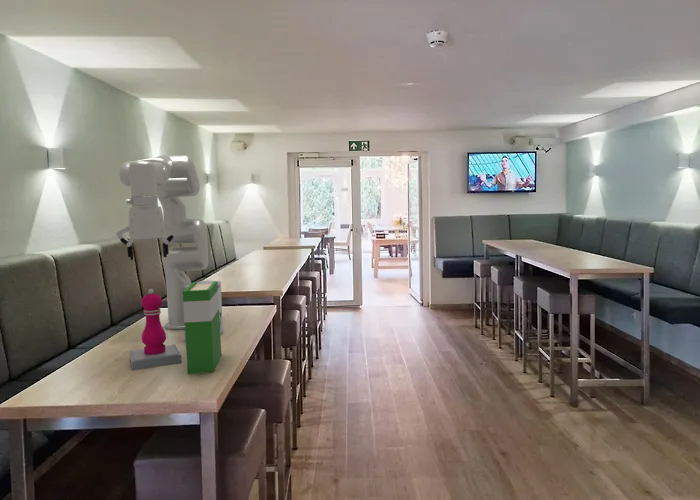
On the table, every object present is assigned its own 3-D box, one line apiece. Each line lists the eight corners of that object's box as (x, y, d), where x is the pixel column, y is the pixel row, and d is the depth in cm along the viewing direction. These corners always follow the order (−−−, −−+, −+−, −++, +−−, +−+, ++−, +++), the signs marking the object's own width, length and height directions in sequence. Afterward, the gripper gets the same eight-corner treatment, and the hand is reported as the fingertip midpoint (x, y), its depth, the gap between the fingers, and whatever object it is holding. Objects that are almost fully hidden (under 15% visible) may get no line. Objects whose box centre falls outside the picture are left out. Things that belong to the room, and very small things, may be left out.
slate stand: (130, 358, 174) (129, 349, 174) (175, 351, 180) (175, 343, 180) (132, 370, 162) (132, 361, 161) (181, 362, 167) (181, 354, 167)
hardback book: (197, 356, 174) (193, 282, 172) (221, 354, 175) (217, 280, 173) (187, 373, 157) (182, 291, 154) (214, 372, 157) (209, 290, 155)
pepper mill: (139, 355, 167) (135, 291, 165) (146, 349, 174) (142, 287, 172) (163, 354, 168) (159, 290, 166) (169, 348, 175) (165, 286, 173)
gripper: (114, 203, 159) (118, 261, 161) (175, 201, 167) (179, 257, 168) (113, 203, 166) (117, 259, 168) (172, 201, 173) (176, 254, 175)
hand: (148, 258), depth 168 cm, fingers open, 9 cm apart
